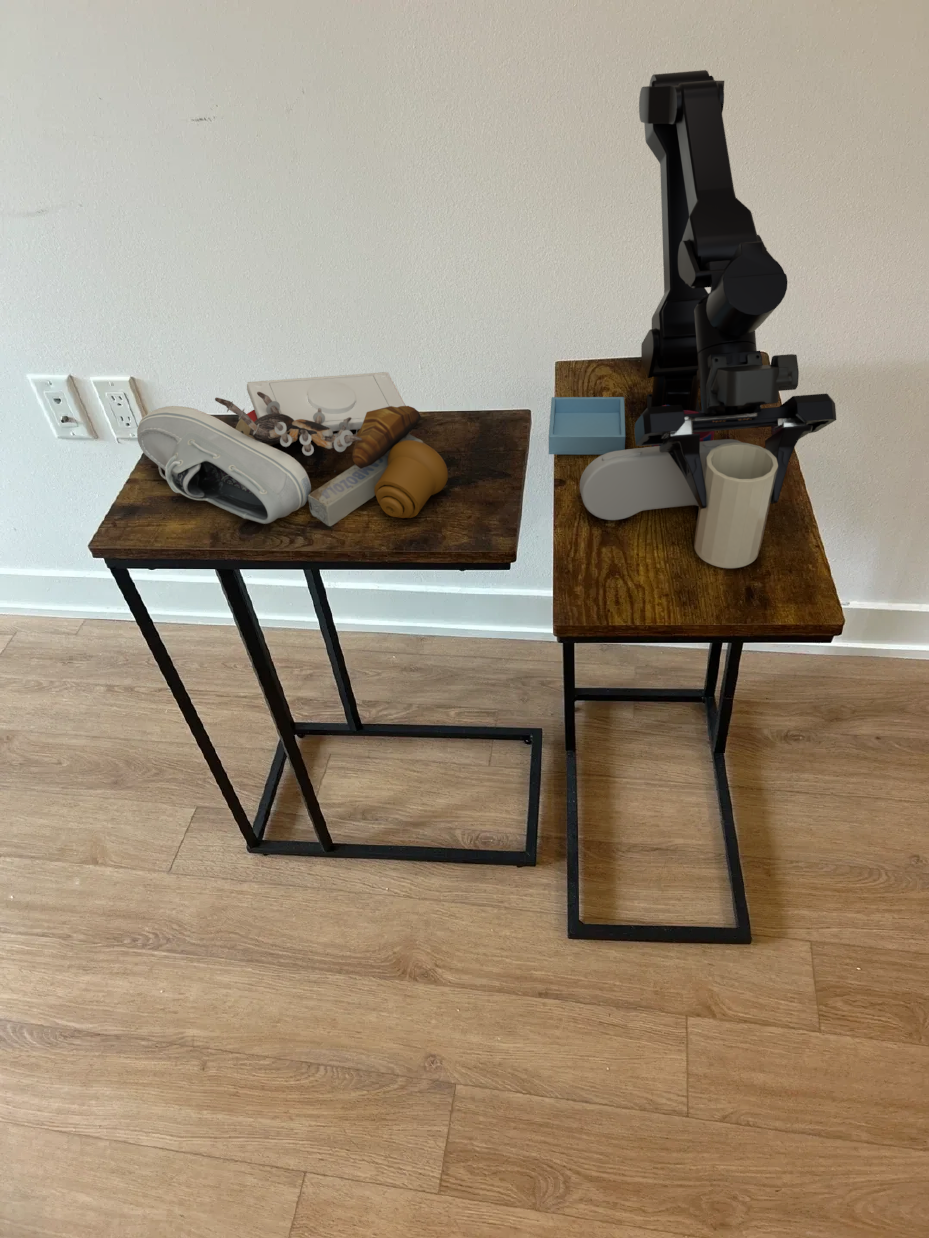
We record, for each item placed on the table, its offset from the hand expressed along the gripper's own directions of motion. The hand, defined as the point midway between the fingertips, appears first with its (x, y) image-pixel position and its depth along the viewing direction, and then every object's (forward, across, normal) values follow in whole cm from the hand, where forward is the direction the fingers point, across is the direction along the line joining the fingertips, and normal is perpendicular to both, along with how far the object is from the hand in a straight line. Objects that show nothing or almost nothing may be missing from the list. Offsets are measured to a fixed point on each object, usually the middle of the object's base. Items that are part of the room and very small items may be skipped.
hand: (738, 505), depth 89 cm
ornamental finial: (-7, -37, +14) cm, 40 cm away
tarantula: (-17, -45, +14) cm, 50 cm away
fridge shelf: (-13, -12, +23) cm, 29 cm away
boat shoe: (-13, -55, +17) cm, 59 cm away
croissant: (-12, -35, +14) cm, 40 cm away
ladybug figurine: (-17, -52, +27) cm, 61 cm away
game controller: (-1, -5, +11) cm, 12 cm away
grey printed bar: (-10, -41, +17) cm, 46 cm away
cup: (-7, -2, +17) cm, 18 cm away
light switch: (-20, -53, +22) cm, 61 cm away
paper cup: (+4, 0, +6) cm, 7 cm away
